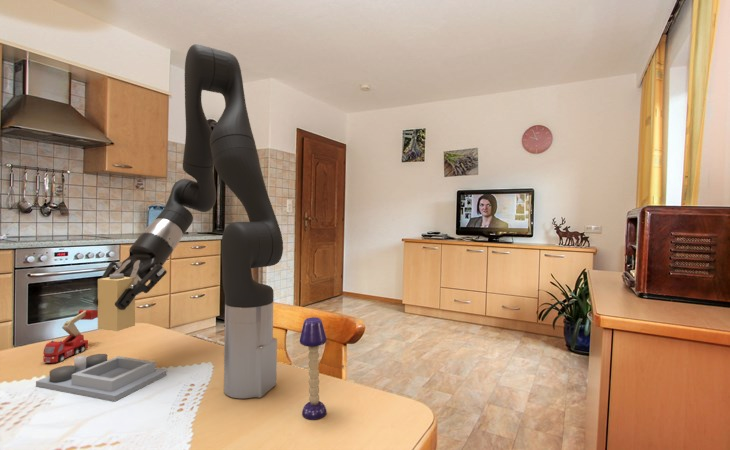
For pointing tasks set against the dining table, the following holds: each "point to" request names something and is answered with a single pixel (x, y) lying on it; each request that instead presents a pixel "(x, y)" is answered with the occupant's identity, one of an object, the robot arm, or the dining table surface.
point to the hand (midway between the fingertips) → (108, 306)
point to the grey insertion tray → (102, 376)
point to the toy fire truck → (69, 339)
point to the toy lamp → (313, 365)
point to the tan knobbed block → (107, 310)
